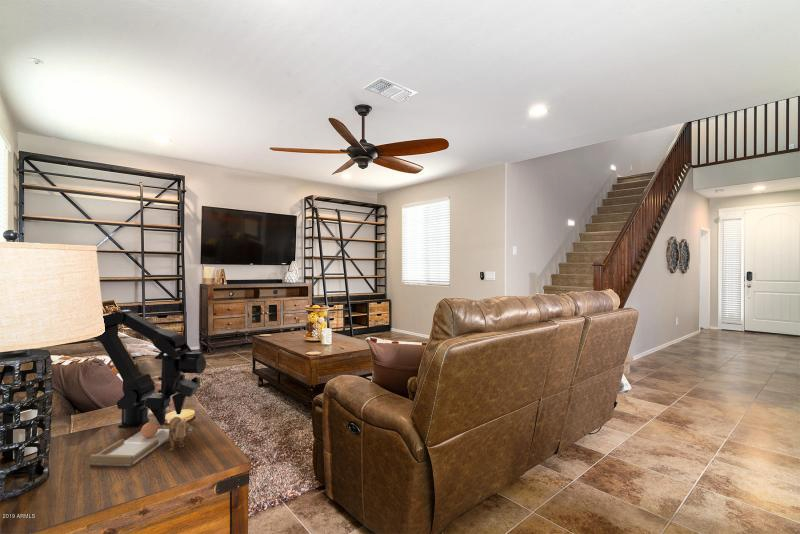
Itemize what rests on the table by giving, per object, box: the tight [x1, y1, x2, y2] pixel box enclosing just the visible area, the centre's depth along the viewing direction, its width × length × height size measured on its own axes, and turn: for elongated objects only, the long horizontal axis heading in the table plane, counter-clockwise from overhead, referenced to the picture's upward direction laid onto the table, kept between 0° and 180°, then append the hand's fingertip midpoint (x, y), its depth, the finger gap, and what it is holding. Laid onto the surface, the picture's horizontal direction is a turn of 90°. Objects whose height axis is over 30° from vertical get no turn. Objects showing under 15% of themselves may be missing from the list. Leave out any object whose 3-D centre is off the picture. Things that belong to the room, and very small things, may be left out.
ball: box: [140, 421, 159, 438], centre depth 121 cm, size 4×4×4 cm
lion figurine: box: [166, 416, 194, 452], centre depth 118 cm, size 15×5×9 cm, turn 44°
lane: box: [89, 428, 169, 467], centre depth 116 cm, size 11×22×2 cm, turn 179°
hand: (170, 419), depth 132 cm, fingers open, 9 cm apart
